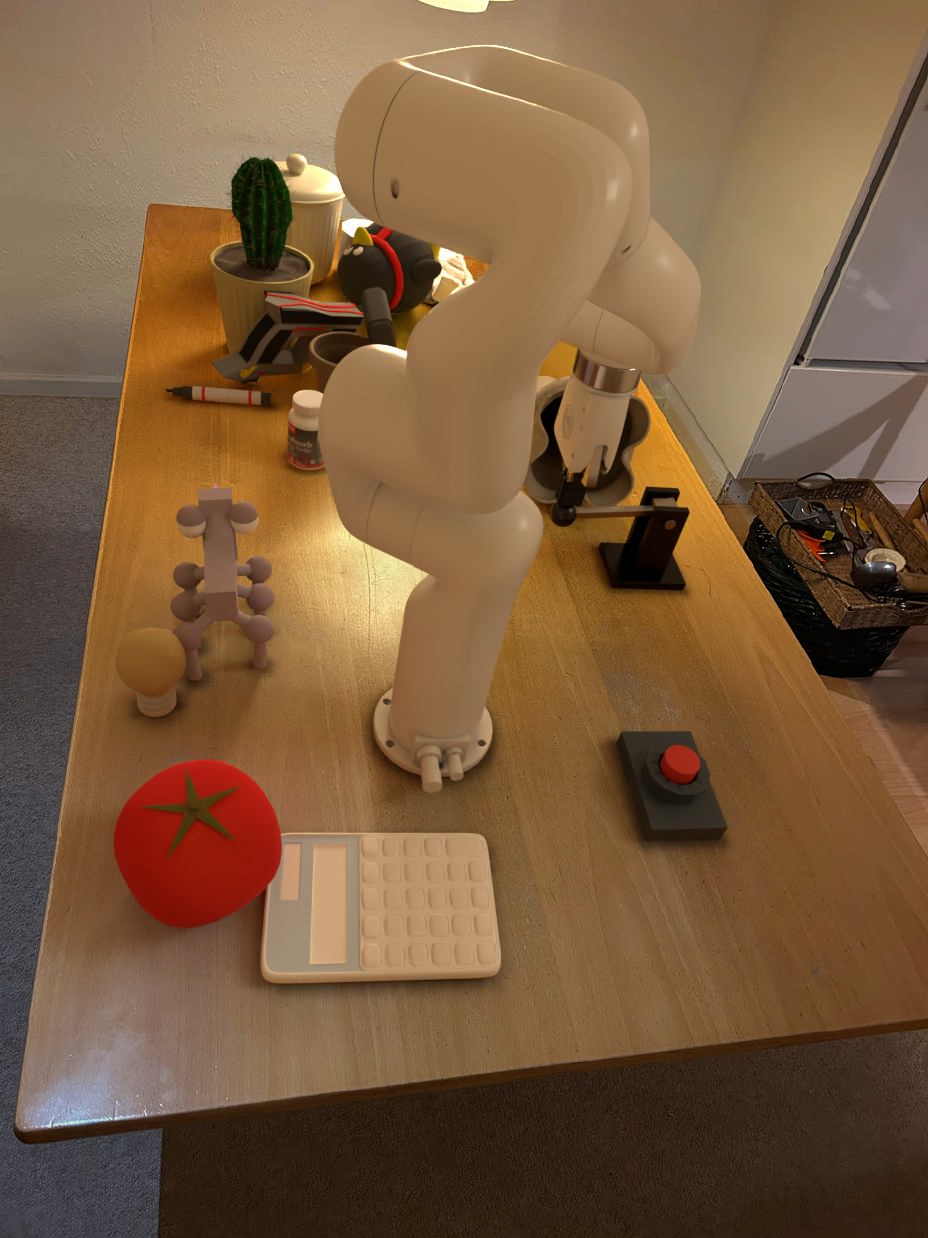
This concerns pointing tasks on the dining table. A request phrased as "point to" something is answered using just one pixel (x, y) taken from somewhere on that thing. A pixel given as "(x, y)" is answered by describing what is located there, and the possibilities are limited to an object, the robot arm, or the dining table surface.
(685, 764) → the button
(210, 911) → the tomato
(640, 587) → the bracket
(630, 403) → the vase
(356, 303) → the toy
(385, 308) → the card reader
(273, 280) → the potted cactus
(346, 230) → the toilet tissue
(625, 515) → the lever
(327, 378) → the flower pot
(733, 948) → the dining table surface
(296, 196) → the canister
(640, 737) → the button box
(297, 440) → the pill bottle
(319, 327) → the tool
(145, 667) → the light bulb
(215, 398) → the marker
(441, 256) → the figure
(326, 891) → the calculator
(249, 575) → the toy insect
